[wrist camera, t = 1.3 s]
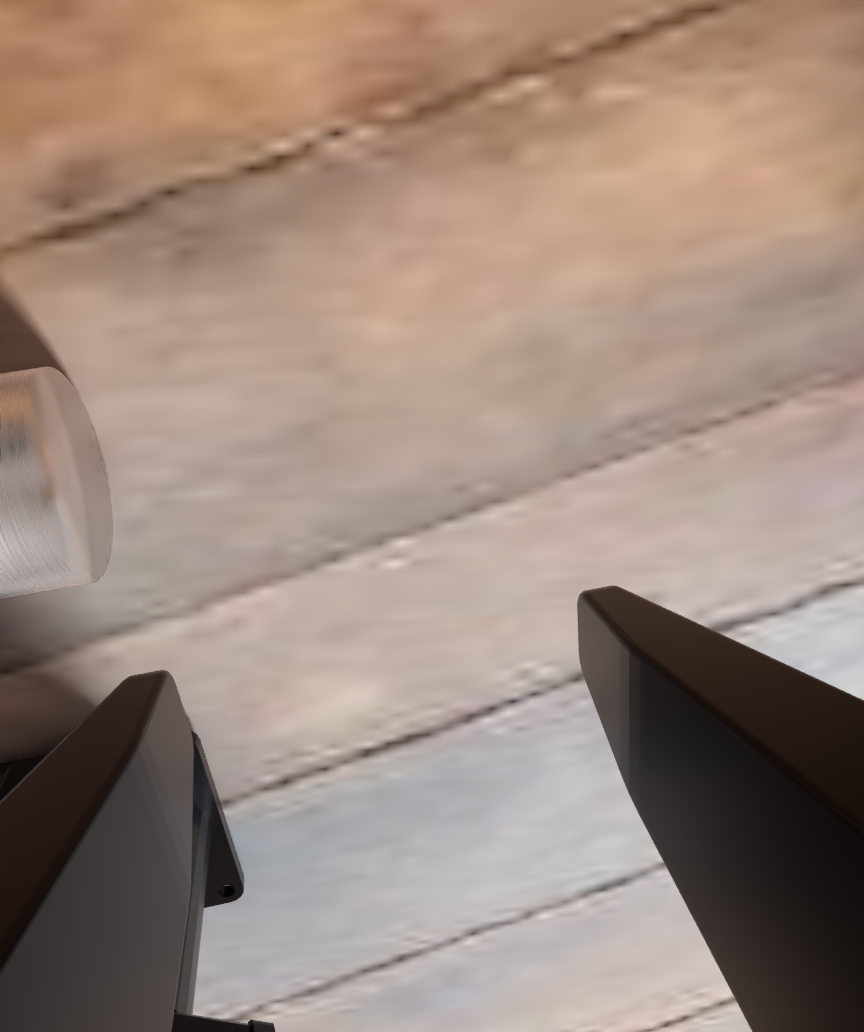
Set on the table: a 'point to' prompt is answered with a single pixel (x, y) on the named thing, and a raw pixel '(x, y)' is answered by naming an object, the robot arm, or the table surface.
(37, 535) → the air tube
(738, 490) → the table surface
